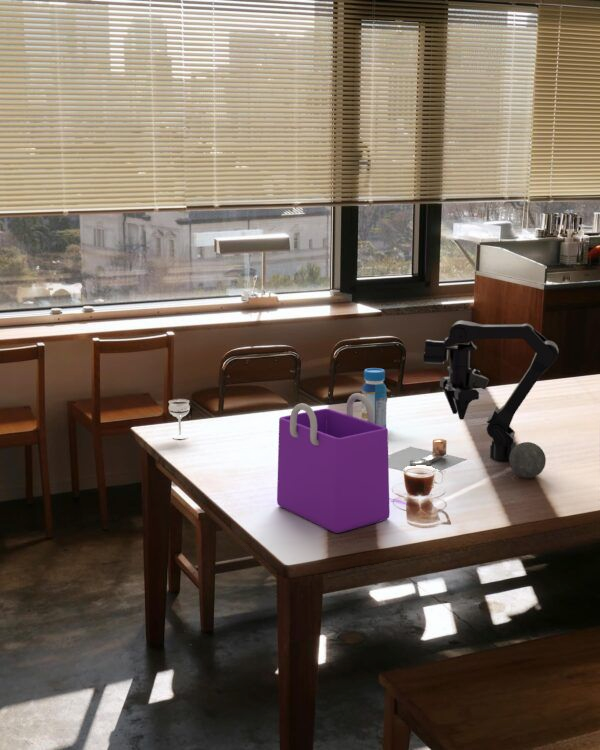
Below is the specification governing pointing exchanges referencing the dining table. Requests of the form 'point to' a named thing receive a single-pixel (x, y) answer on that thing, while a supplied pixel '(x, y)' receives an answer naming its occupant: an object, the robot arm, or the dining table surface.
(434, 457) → the crank
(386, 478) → the shopping bag
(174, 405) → the wineglass
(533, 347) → the robot arm
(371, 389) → the beverage bottle
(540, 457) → the decorative ball
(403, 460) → the mount plate
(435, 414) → the dining table surface
